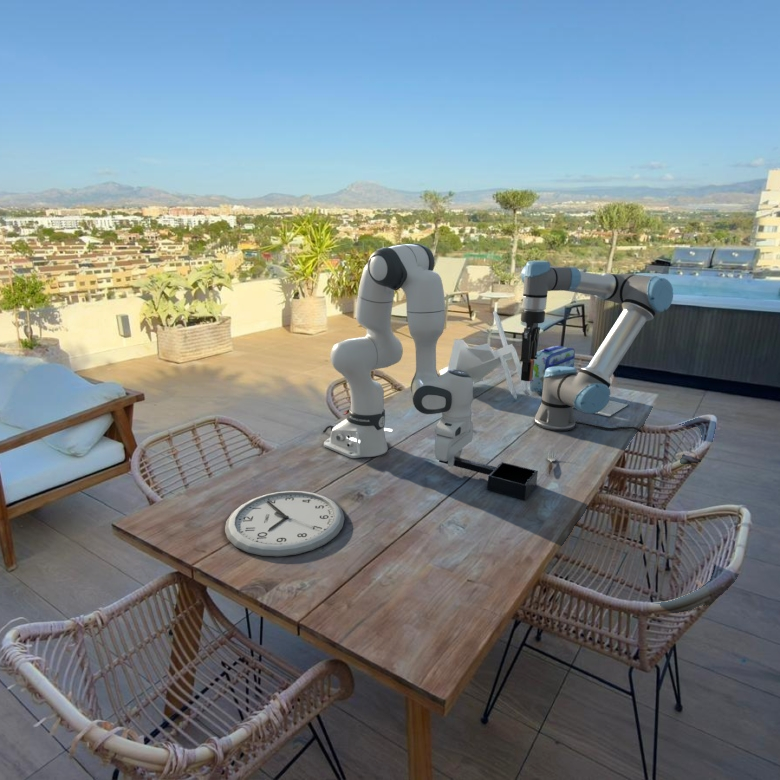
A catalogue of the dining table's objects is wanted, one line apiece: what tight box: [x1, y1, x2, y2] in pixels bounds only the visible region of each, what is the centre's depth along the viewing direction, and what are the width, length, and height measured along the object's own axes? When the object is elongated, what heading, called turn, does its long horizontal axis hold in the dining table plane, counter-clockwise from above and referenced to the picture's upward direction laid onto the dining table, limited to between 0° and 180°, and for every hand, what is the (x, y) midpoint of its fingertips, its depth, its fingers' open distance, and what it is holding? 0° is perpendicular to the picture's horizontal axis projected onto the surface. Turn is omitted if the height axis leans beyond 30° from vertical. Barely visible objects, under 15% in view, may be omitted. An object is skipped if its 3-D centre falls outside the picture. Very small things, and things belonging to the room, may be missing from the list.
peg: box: [528, 359, 534, 382], centre depth 176 cm, size 3×3×7 cm
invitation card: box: [595, 400, 629, 418], centre depth 226 cm, size 21×1×15 cm
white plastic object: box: [438, 310, 531, 400], centre depth 245 cm, size 37×45×31 cm
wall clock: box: [224, 490, 345, 557], centre depth 134 cm, size 30×2×30 cm
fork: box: [547, 449, 557, 475], centre depth 169 cm, size 3×16×2 cm, turn 160°
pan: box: [438, 457, 539, 501], centre depth 158 cm, size 29×11×5 cm, turn 58°
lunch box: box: [529, 345, 576, 394], centre depth 244 cm, size 26×11×21 cm, turn 135°
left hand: (453, 463), depth 163 cm, fingers closed on pan, 2 cm apart
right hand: (526, 379), depth 177 cm, fingers closed on peg, 3 cm apart
